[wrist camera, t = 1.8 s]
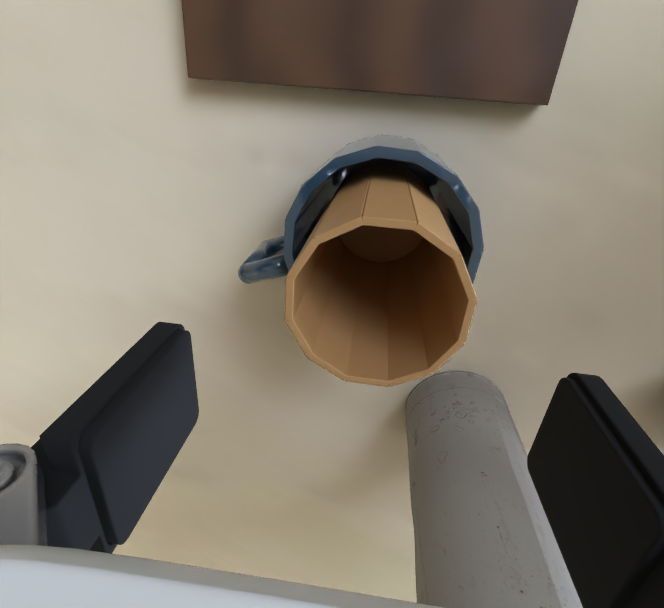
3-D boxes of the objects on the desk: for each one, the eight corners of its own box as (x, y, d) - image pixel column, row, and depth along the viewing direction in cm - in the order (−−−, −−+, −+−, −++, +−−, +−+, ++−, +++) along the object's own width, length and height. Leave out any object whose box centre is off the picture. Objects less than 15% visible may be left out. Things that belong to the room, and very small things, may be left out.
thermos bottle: (445, 458, 35) (585, 1316, 10) (385, 404, 33) (381, 1302, 8) (526, 416, 32) (1010, 1511, 7) (465, 353, 30) (843, 1564, 5)
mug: (444, 114, 23) (468, 119, 16) (466, 265, 27) (492, 318, 20) (243, 174, 26) (193, 198, 19) (289, 301, 30) (261, 358, 23)
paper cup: (443, 168, 24) (497, 229, 12) (424, 269, 27) (451, 396, 15) (334, 157, 24) (286, 208, 13) (327, 258, 27) (284, 373, 16)
